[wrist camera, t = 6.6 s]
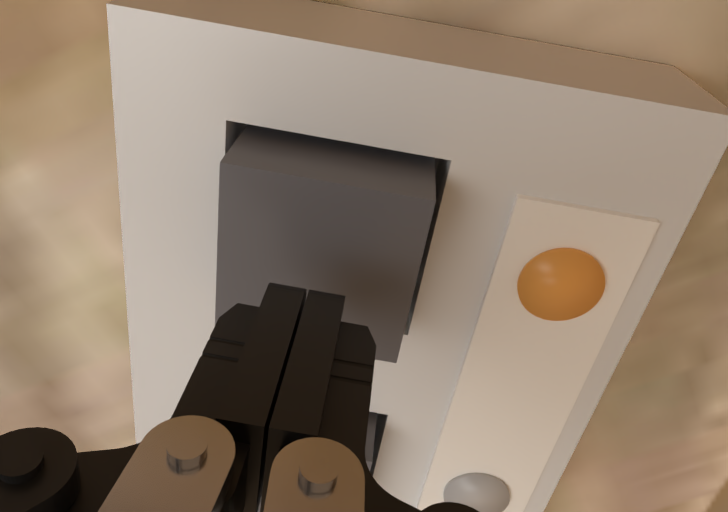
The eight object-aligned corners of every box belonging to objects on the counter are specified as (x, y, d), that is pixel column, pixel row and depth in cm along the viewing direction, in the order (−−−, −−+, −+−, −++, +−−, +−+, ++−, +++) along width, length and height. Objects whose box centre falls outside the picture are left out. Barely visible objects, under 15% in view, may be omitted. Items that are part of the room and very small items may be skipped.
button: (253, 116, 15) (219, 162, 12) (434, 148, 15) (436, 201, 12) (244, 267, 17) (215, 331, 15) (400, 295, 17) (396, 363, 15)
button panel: (175, -25, 16) (98, 6, 12) (674, 66, 16) (749, 123, 12) (181, 545, 29) (145, 642, 25) (451, 592, 29) (455, 696, 25)
